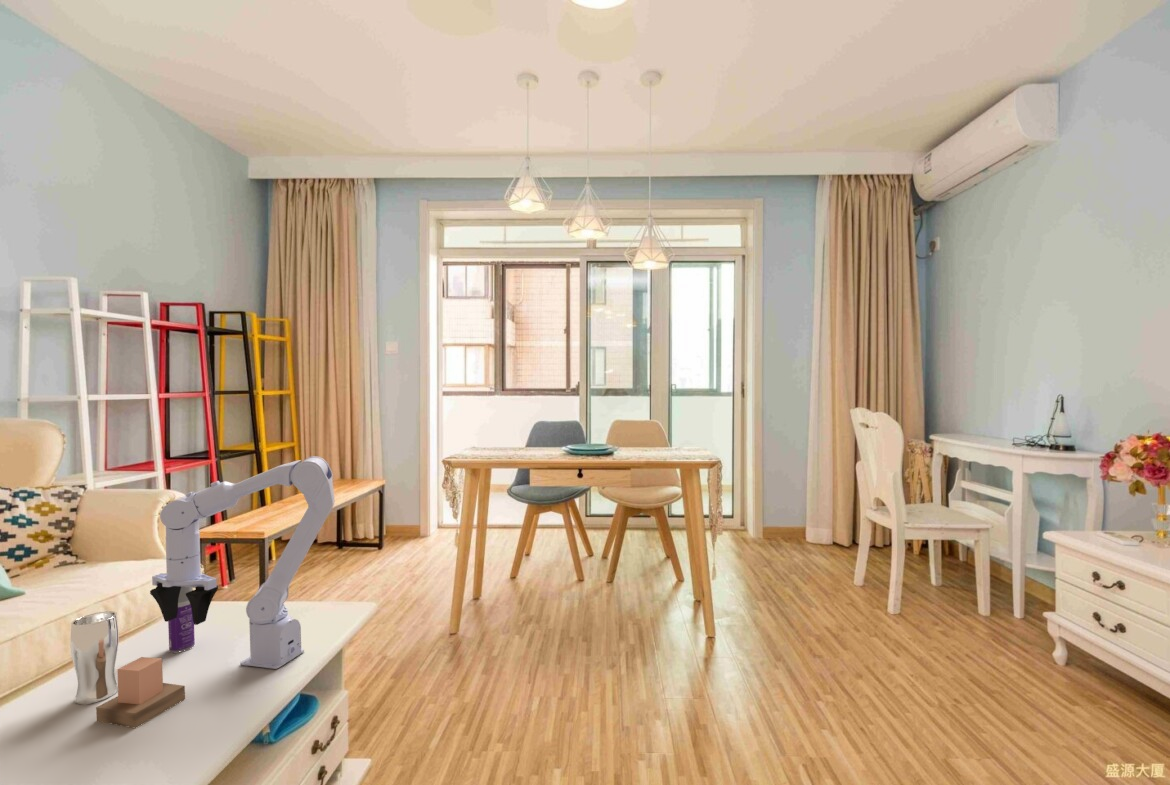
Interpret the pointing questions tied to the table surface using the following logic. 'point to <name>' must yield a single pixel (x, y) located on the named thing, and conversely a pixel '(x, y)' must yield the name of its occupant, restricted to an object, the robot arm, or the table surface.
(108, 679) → the beer glass
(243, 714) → the table surface
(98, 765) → the table surface
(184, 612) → the container
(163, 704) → the walnut base
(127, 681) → the terracotta block
